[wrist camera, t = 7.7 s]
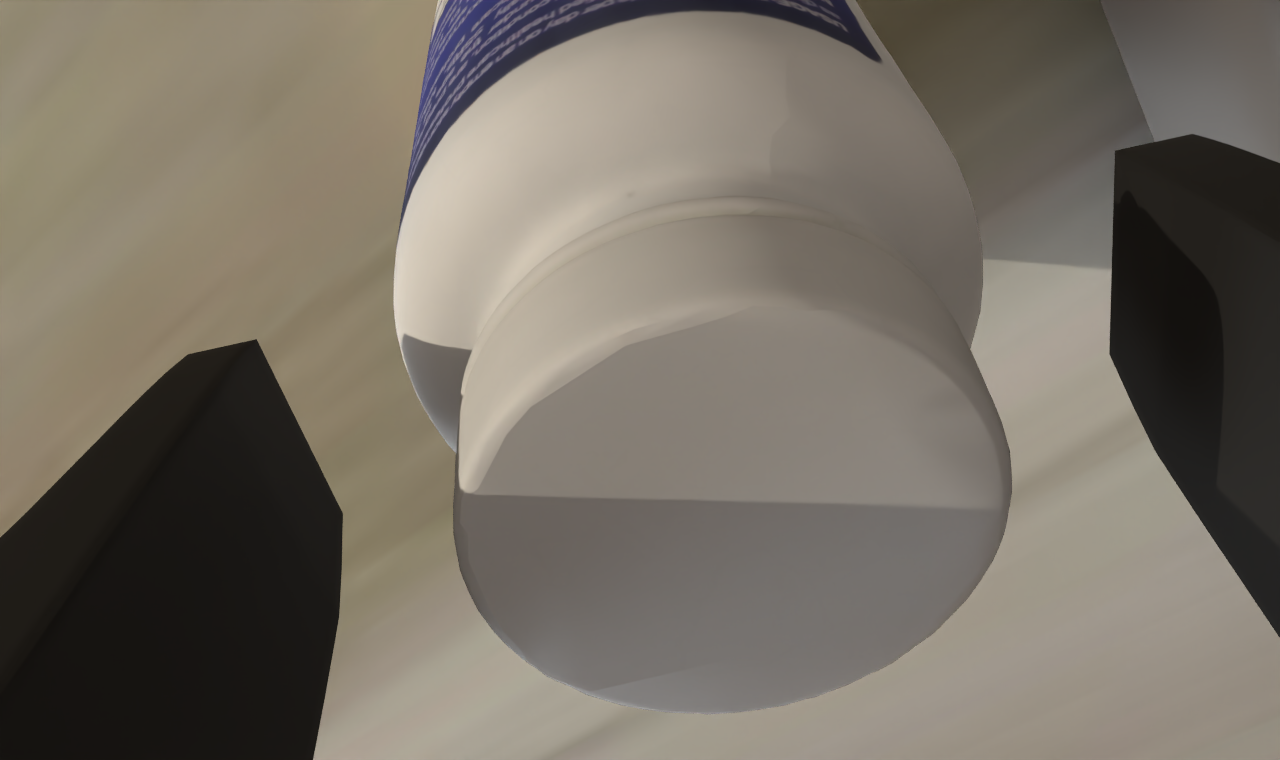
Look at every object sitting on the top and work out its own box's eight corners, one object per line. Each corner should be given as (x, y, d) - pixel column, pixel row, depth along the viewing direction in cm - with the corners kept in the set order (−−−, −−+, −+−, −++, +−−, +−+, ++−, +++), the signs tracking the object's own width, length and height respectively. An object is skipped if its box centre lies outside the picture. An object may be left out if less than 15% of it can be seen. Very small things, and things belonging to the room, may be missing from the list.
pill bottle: (346, 51, 15) (183, 544, 8) (653, -270, 13) (790, 9, 6) (633, 301, 18) (700, 845, 11) (925, 60, 16) (1243, 526, 9)
